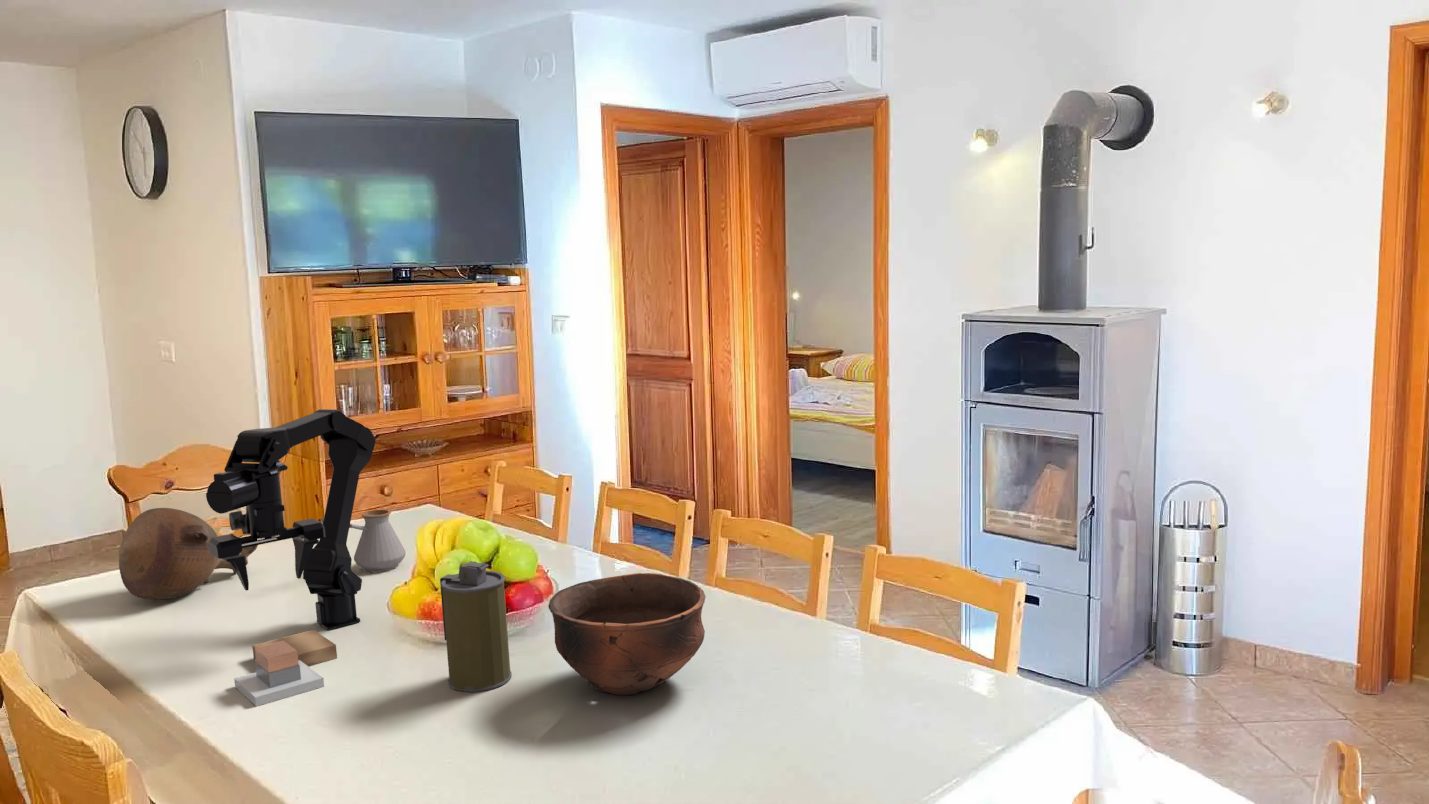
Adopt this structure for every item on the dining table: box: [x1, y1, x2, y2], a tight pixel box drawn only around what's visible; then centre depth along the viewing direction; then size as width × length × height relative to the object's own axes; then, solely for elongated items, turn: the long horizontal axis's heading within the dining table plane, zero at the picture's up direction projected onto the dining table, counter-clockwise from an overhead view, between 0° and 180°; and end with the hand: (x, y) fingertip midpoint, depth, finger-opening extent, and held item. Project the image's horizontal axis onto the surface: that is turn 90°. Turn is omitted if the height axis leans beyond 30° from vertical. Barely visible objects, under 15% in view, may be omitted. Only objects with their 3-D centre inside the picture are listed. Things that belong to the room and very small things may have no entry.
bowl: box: [547, 572, 707, 696], centre depth 175 cm, size 25×25×15 cm
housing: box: [254, 641, 301, 688], centre depth 180 cm, size 7×5×5 cm
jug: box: [118, 507, 259, 600], centre depth 235 cm, size 20×20×30 cm
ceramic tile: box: [233, 660, 325, 707], centre depth 180 cm, size 11×11×2 cm
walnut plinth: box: [251, 629, 338, 667], centre depth 193 cm, size 11×11×2 cm
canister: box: [439, 560, 513, 693], centre depth 179 cm, size 11×10×20 cm
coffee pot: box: [316, 509, 407, 573], centre depth 243 cm, size 21×12×15 cm, turn 146°
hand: (273, 584), depth 194 cm, fingers open, 9 cm apart
